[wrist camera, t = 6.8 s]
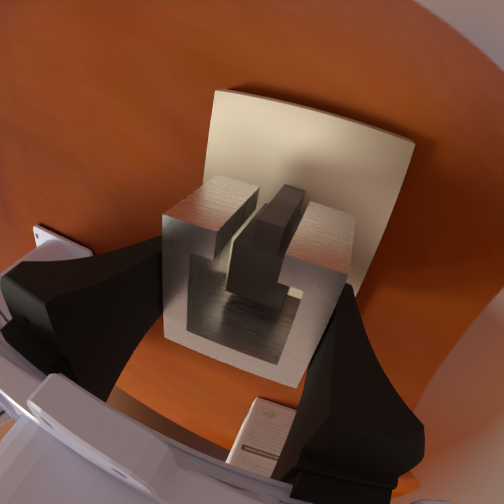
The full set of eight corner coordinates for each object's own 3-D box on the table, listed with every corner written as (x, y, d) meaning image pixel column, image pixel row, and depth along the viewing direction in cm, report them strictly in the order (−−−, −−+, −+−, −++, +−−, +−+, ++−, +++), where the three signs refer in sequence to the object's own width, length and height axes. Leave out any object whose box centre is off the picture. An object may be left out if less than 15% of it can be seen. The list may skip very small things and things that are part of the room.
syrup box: (255, 394, 25) (183, 545, 13) (320, 416, 24) (268, 572, 12) (243, 421, 28) (182, 546, 17) (299, 441, 27) (251, 569, 16)
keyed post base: (335, 329, 19) (319, 397, 15) (201, 282, 21) (159, 335, 16) (411, 139, 12) (434, 167, 8) (225, 89, 14) (166, 96, 10)
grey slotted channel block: (315, 321, 15) (296, 388, 11) (205, 282, 16) (164, 337, 12) (355, 215, 12) (348, 274, 8) (217, 174, 13) (162, 214, 9)
